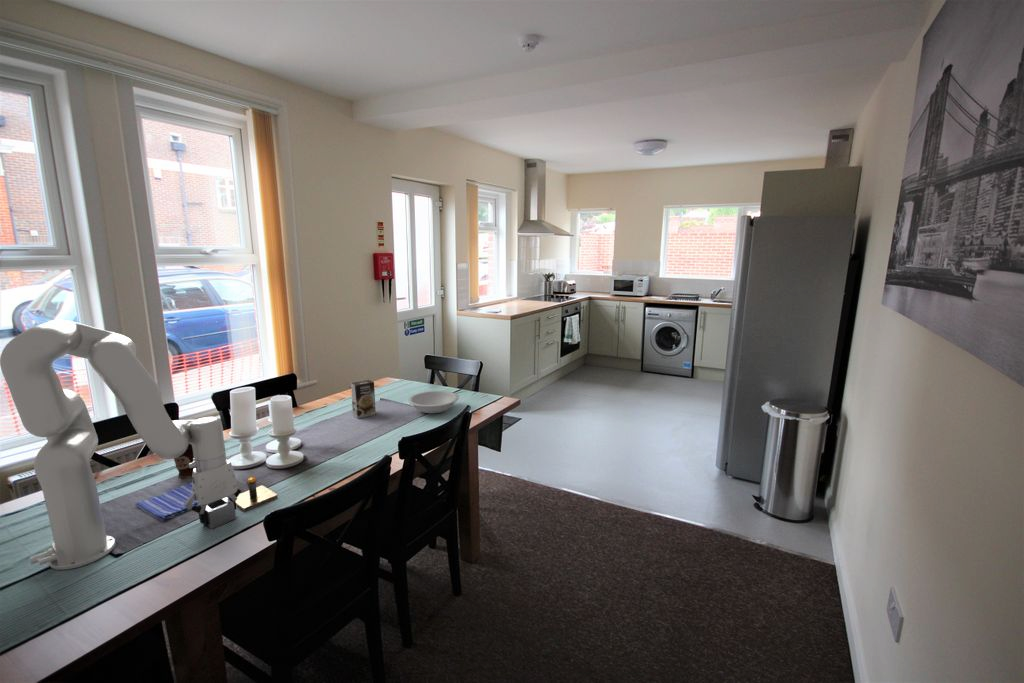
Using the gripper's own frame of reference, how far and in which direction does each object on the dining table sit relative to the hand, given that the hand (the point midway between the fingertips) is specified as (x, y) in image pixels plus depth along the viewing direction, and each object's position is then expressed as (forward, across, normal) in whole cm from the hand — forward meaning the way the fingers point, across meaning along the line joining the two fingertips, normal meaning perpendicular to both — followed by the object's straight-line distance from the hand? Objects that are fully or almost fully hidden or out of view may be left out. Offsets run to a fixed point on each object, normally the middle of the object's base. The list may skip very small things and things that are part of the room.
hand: (219, 517), depth 135 cm
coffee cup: (+1, +5, +39) cm, 39 cm away
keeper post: (+1, +11, +4) cm, 12 cm away
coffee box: (+1, +78, +41) cm, 89 cm away
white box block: (+1, 0, 0) cm, 1 cm away
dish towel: (+2, 0, +22) cm, 22 cm away
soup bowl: (+1, +102, +19) cm, 104 cm away
